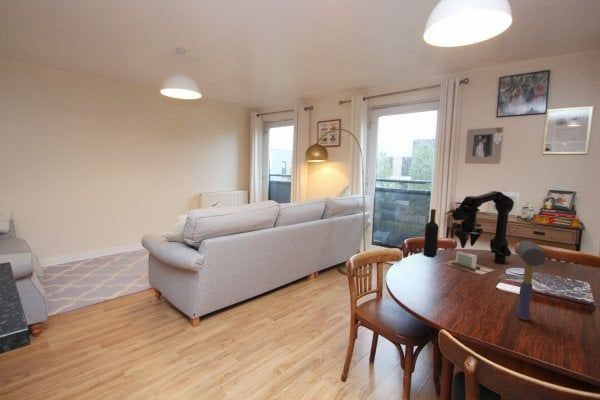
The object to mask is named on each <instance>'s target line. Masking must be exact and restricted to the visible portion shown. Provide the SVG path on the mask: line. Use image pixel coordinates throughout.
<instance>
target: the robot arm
mask: <svg viewBox="0 0 600 400" xmlns="http://www.w3.org/2000/svg"><path fill="white" fill-rule="evenodd" d="M491 201H492V202H493V203H494V204H495V209H496V211H497V219H496V225H495V226H496V227H495V232H494V233H495V234H494V237H493V238H492V239H490V242H489V243H490V244H489V247H490V248H489V249H490V252H491V253H493V254H494V256H493V257H494V258H493V259H494V260H493V262H494V264H497V265H506V264H507V263H506V262H507V258H508V257H511V255H512V251H511V250H510V249H509V242H508V240H507V238H506V235H507V229H508V218H509V214H510V212H512V211H513V209H514V205H515V203H514V200H513V199H512V198H511V197H509V196H508V195H506V194H504V193H503V192H502V191H496V190H494V191H493V190H492V191H491V192H487V193H483V194H481V195H476V196H474V195H470V196H469V195H468V196H465V197H464V199H463V200H462V202H461V204H460V205H459V207H455V209H454V210H453V211H452V213H451V217H452V219H453V220H454V221H461V222H460V223H457V222H452V224H451V228H452V229H453V230H454V233H453V235H454V236H455V237H457V238H458V239H459V243H460V246H461V248H462V249H465V247H466V245H467V243H468V241H469V238H470V241H469V242H470V246H471V247H473V246H474V245H475V244H476V242H477V241H478V239H479V238H480V236H482V234H483V233H484V230H483V228H482V227H481V228H480V227H476V225H477V224H478V221H477V214H478V212H480V209H479V207H482V205H483V204H486V203H488V202H491Z"/></svg>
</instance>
